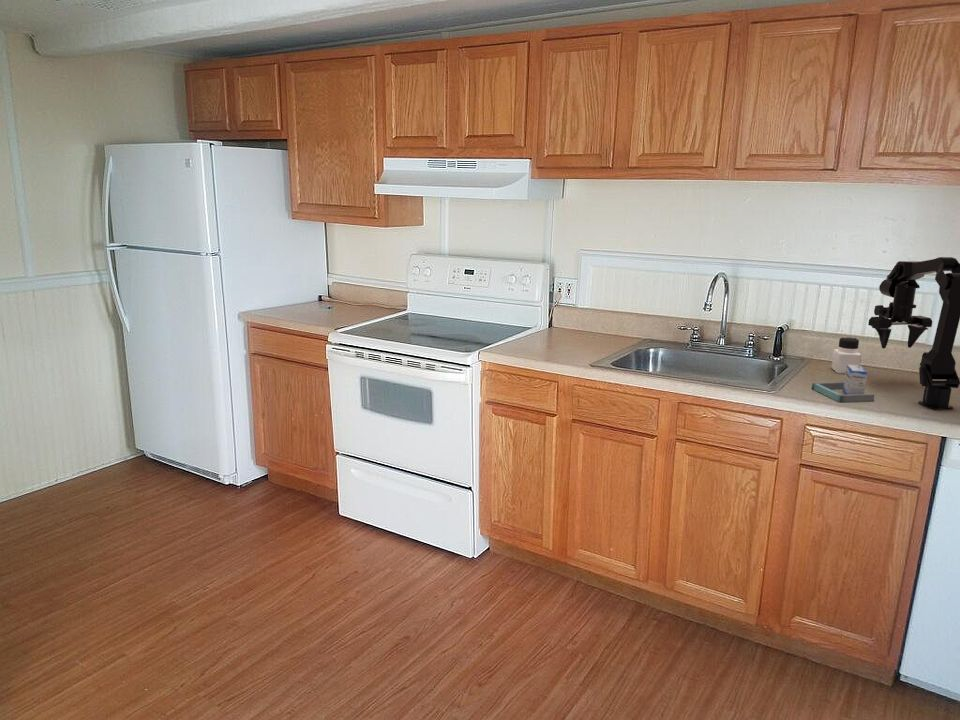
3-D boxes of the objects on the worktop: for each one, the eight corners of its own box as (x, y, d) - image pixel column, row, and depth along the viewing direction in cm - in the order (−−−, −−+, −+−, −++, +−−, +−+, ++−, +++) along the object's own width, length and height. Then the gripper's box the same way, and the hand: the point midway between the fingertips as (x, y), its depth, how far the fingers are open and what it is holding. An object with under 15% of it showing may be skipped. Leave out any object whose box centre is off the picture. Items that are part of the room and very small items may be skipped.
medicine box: (842, 390, 226) (846, 364, 224) (857, 391, 225) (861, 365, 223) (848, 397, 219) (851, 370, 217) (864, 398, 218) (867, 371, 216)
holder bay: (873, 401, 215) (874, 394, 215) (839, 402, 214) (840, 396, 213) (844, 387, 229) (844, 381, 229) (811, 388, 228) (812, 382, 227)
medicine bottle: (859, 374, 245) (863, 340, 242) (836, 373, 246) (841, 339, 243) (852, 369, 252) (857, 336, 249) (831, 368, 253) (835, 335, 250)
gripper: (911, 295, 237) (904, 341, 240) (860, 297, 234) (854, 343, 238) (937, 301, 226) (929, 349, 230) (883, 302, 223) (876, 350, 227)
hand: (896, 347), depth 231 cm, fingers open, 9 cm apart
